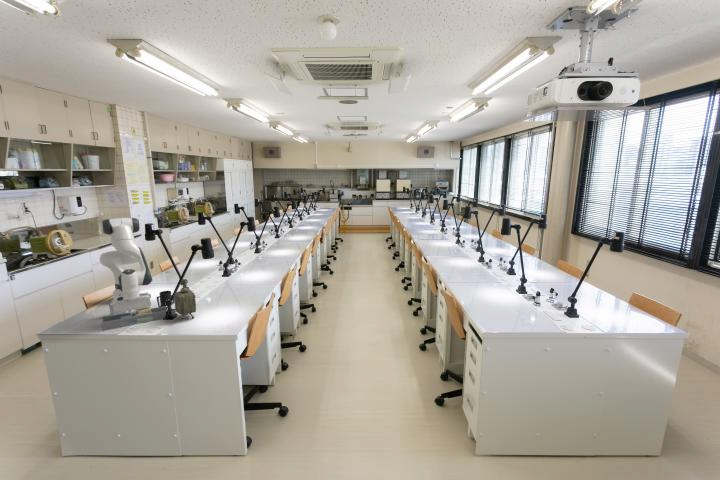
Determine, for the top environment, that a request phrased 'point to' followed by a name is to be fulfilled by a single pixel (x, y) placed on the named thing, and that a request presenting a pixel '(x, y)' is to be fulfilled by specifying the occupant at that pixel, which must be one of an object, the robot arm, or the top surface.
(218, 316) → the top surface
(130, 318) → the trap lane
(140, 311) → the maple block
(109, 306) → the medicine box
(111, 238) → the robot arm
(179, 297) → the olive backpack
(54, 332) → the top surface
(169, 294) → the black mug
